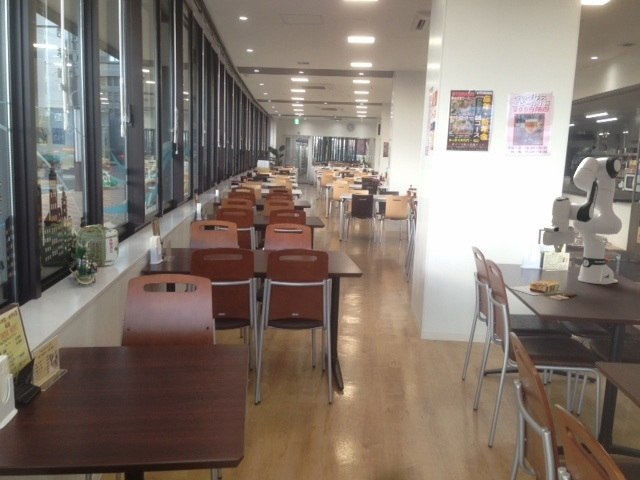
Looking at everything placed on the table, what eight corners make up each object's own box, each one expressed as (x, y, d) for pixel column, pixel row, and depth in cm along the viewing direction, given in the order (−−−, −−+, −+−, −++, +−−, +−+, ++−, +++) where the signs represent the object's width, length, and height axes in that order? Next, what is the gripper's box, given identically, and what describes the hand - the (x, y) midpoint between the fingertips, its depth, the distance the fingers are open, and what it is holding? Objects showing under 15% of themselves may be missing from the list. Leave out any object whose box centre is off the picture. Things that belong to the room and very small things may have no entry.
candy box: (560, 282, 313) (545, 285, 303) (559, 290, 313) (545, 293, 303) (544, 279, 319) (530, 282, 309) (544, 287, 320) (529, 290, 310)
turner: (570, 293, 306) (570, 291, 306) (580, 296, 301) (581, 293, 301) (548, 298, 296) (549, 295, 296) (559, 300, 291) (559, 297, 291)
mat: (536, 285, 325) (536, 285, 324) (562, 292, 308) (562, 292, 308) (508, 288, 316) (508, 287, 316) (533, 295, 300) (533, 294, 300)
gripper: (569, 225, 324) (567, 249, 326) (541, 227, 315) (539, 252, 318) (578, 226, 318) (576, 251, 321) (550, 229, 310) (548, 254, 312)
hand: (558, 252), depth 319 cm, fingers closed
